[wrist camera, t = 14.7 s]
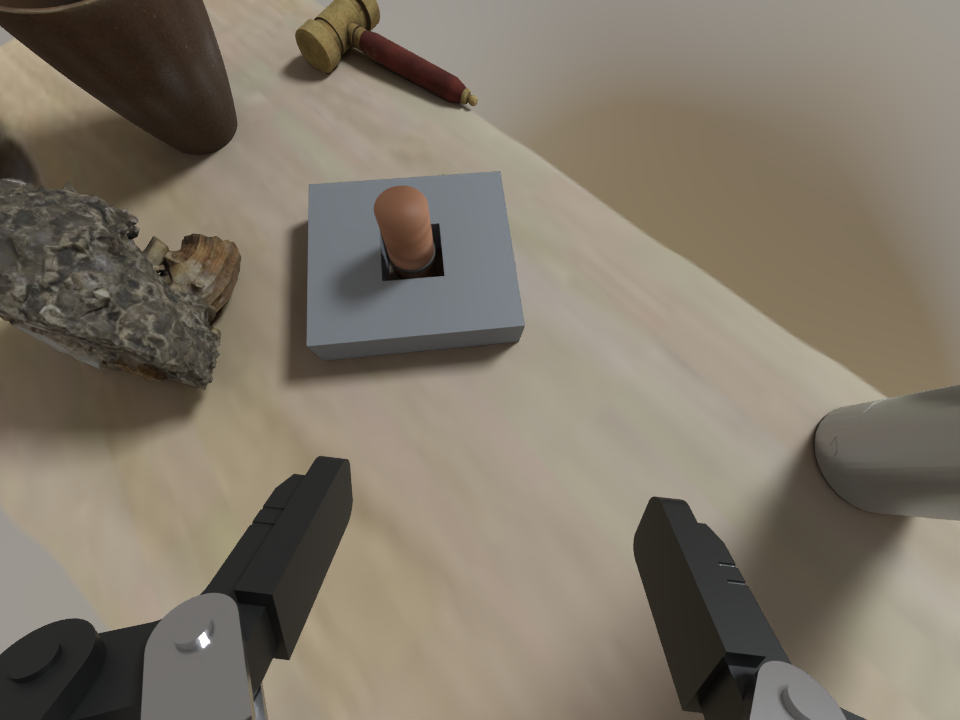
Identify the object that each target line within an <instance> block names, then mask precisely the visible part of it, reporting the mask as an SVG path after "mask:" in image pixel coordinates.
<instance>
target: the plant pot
mask: <svg viewBox="0 0 960 720" xmlns="http://www.w3.org/2000/svg"><path fill="white" fill-rule="evenodd" d="M0 26H1V27H2V28H4V29H5V30H6V31H7V32H9V33H10V34H11V35H12V36H14V37H15V38H16V39H17V40H19V41H20V42H21V43H22V44H24V45H25V46H26V47H27V48H29V49H30V50H31V51H33V52H34V53H35V54H36V55H38V56H39V57H40V58H42V59H43V60H44V61H46V62H47V63H48V64H49V65H51V66H52V67H53V68H55V69H56V70H57V71H59V72H60V73H61V74H63V75H64V76H65V77H67V78H68V79H69V80H71V81H72V82H74V83H75V84H76V85H78V86H79V87H81V88H82V89H83V90H85V91H86V92H88V93H89V94H90V95H92V96H93V97H95V98H96V99H98V100H99V101H100V102H102V103H103V104H105V105H106V106H108V107H109V108H111V109H112V110H114V111H115V112H117V113H118V114H120V115H121V116H123V117H124V118H126V119H127V120H129V121H130V122H132V123H134V124H135V125H137V126H138V127H140V128H142V129H143V130H145V131H146V132H148V133H150V134H151V135H153V136H155V137H156V138H158V139H160V140H162V141H163V142H165V143H167V144H169V145H170V146H172V147H174V148H176V149H178V150H180V151H182V152H184V153H189V154H206V153H210V152H213V151H216V150H217V149H219V148H221V147H223V146H224V145H226V144H227V143H228V142H229V141H230V140H231V139H232V137H233V136H234V134H235V132H236V129H237V118H236V112H235V107H234V102H233V97H232V93H231V89H230V85H229V81H228V77H227V73H226V70H225V66H224V62H223V59H222V56H221V53H220V49H219V46H218V43H217V40H216V37H215V34H214V31H213V28H212V25H211V22H210V19H209V17H208V14H207V11H206V8H205V6H204V3H203V0H0Z"/></svg>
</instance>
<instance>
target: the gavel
mask: <svg viewBox="0 0 960 720" xmlns="http://www.w3.org/2000/svg"><path fill="white" fill-rule="evenodd" d="M379 19H380V12H379V7H378V4H377V2H376V0H334V1H333V2H332V3H331V4H330V5H329V6H328V7H327V8H326V9H325V10H323V11H322V12H321V13H320V14H319V15H318V16H317V17H316V18H315V19H314V20H312V19H310V20H307V21H306V22H305V23H304V24H303V25H302V26H301V27H300V28H299V29H298V30H297V31H296V34H295V37H296V42H297V45H298V47H299V49H300V51H301V53H302V55H303V56H304V58H305V59H306V60H307V62H308V63H309V64H310V65H311V66H312V67H314V68H316V69H318V70H320V71H322V72H324V73H330V72H331V71H332V70H333V69H334V68H335V67H336V66H337V65H338V64H339V63H340V60H341V56H342V55H343V54H344V53H345V52H346V51H347V50H348V49H349V48H350V47H351V46H352V47H354V48H357V49H358V50H360V51H362V52H363V53H364V54H366V55H367V56H368V57H369V58H370V59H372V60H374V61H376V62H378V63H379V64H381V65H383V66H385V67H387V68H389V69H390V70H392V71H394V72H396V73H398V74H399V75H401V76H403V77H405V78H407V79H408V80H410V81H412V82H414V83H416V84H418V85H419V86H421V87H423V88H425V89H427V90H428V91H430V92H432V93H434V94H436V95H437V96H439V97H441V98H443V99H445V100H447V101H449V102H455V103H462V104H467V103H469V104H470V105H471V106H475V105H476V104H477V101H478V99H477V97H476V96H474V95H471V92H470V90H469V89H467V88H466V87H465V86H464V84H463V83H462V82H461V81H460V80H459V79H458V77H456V76H454V75H452V74H450V73H448V72H447V71H445V70H443V69H441V68H439V67H438V66H436V65H434V64H432V63H430V62H428V61H426V60H425V59H423V58H421V57H419V56H417V55H416V54H414V53H412V52H410V51H408V50H406V49H404V48H403V47H401V46H399V45H397V44H395V43H394V42H392V41H390V40H388V39H386V38H385V37H383V36H381V35H379V34H377V33H374V32H371V30H372V29H373V28H374V27H375V26H376V25H377V24H378V23H379Z"/></svg>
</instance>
